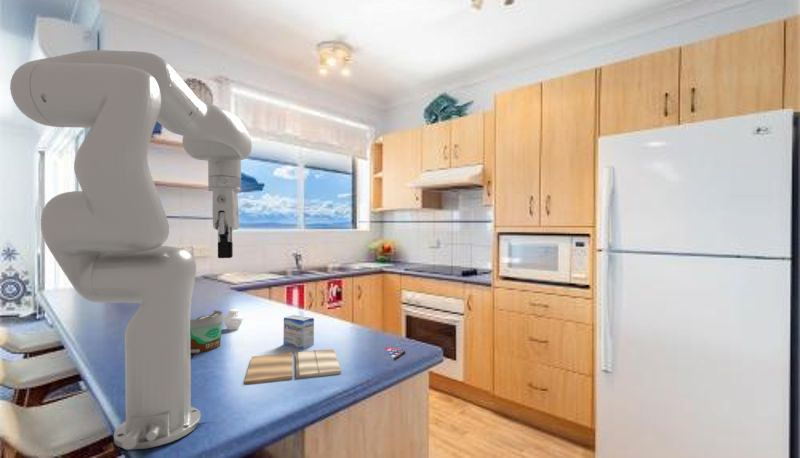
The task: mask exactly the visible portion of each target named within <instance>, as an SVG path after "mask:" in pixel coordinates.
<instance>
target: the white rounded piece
mask: <svg viewBox="0 0 800 458" xmlns="http://www.w3.org/2000/svg"><path fill="white" fill-rule="evenodd" d="M224 319H225V320H224V321H223V322H224V325H225V327H226V328H227V330H228V331H237V330H238V329H240V326H241V325H242V322H243V320H244V317H243V315H242V314H241V313H240V311H239V309H236V308H232V309H229V310H228V311H227V313H226V315H224Z"/></svg>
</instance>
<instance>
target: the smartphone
mask: <svg viewBox="0 0 800 458" xmlns="http://www.w3.org/2000/svg"><path fill="white" fill-rule="evenodd" d="M384 349H385V351H386V352H387V354H389V355H390V357H391V358H392V360H393V361H396V360H398V359H399V358H401V357H402V356H403V355H404V354H406V350H404V349H402V348H401V349H399V348H394V347H384Z"/></svg>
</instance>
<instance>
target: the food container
mask: <svg viewBox="0 0 800 458" xmlns="http://www.w3.org/2000/svg"><path fill="white" fill-rule="evenodd" d="M224 317H225V315H224V313H223V311H221V310H215V309H214V310H213V313H210V314H209V315H208V314H207V315H202V316H200V317H197V318H195V319H190V356H191V357H192V356H196V354H198V353H199V354H200V353H205V352H210V351H212V350H216V349H218V348H220V346H221V337H222V328H223V322H224V320H225V319H224Z"/></svg>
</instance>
